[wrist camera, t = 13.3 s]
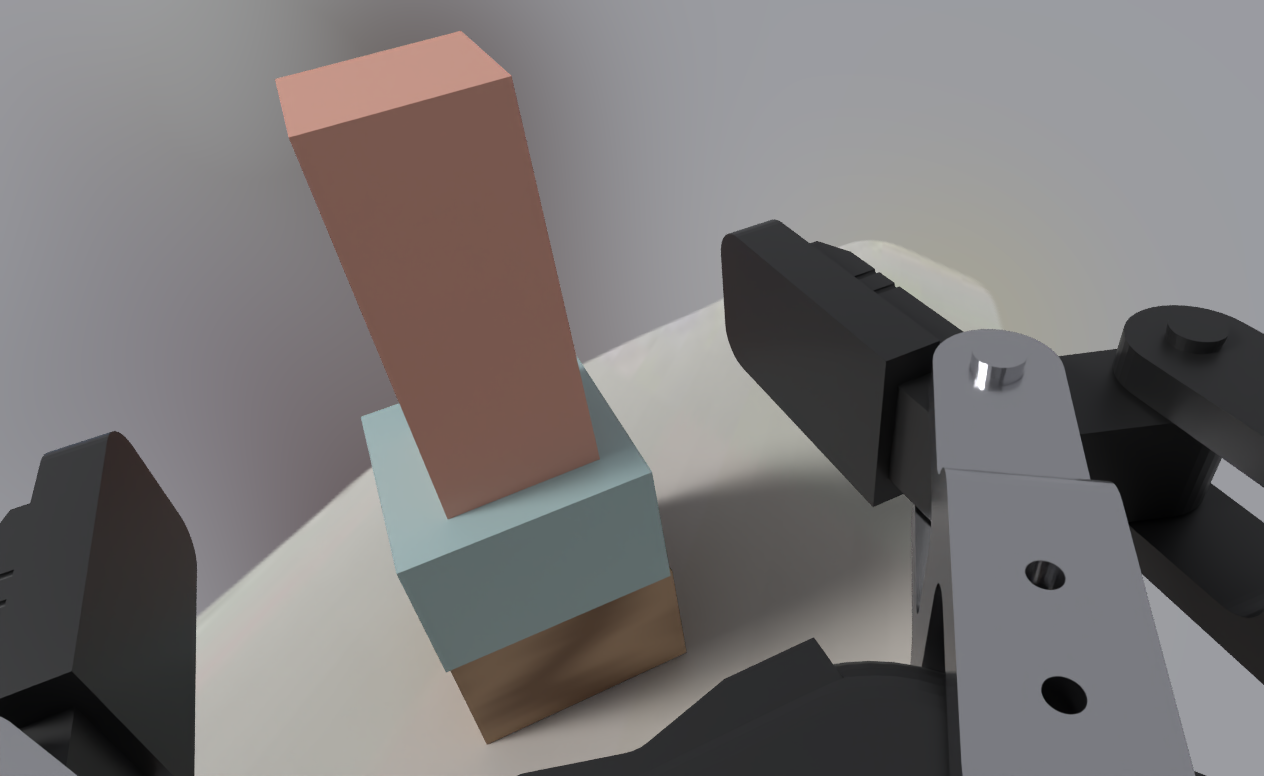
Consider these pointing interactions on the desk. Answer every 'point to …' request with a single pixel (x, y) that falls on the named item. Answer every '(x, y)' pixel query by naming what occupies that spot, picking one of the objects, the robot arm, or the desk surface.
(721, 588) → the desk surface
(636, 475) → the tower top block
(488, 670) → the tower base block
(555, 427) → the brick-red block
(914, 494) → the robot arm
